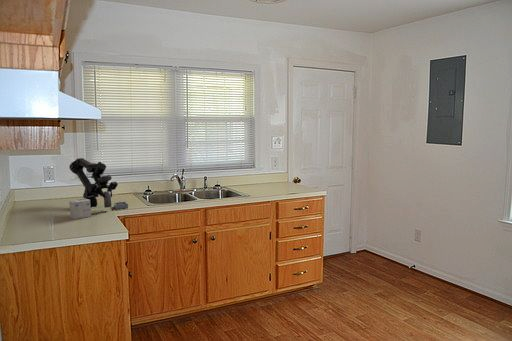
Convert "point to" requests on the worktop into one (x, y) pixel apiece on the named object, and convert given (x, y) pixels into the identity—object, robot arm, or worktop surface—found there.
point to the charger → (107, 199)
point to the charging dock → (120, 205)
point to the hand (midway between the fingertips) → (108, 197)
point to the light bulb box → (80, 208)
